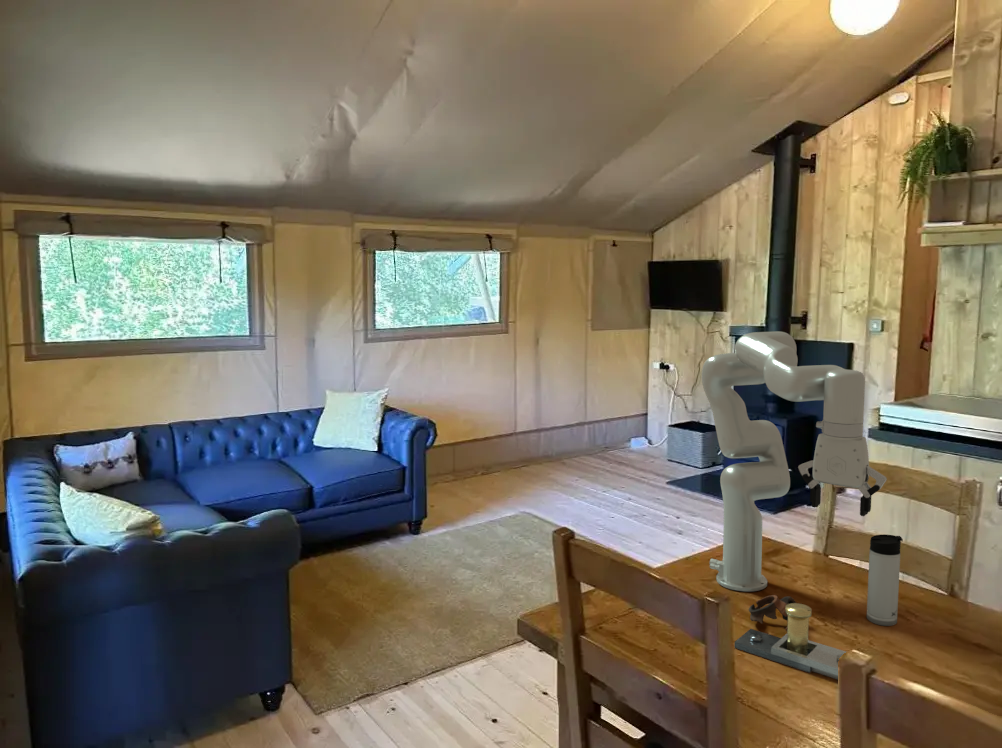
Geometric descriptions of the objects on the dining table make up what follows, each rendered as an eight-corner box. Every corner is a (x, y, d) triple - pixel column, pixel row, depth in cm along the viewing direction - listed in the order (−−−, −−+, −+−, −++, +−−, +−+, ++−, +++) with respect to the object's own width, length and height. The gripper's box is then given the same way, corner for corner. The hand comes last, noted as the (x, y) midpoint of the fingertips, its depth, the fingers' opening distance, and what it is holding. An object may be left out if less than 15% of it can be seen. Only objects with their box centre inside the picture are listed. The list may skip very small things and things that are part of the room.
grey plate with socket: (734, 648, 162) (734, 633, 162) (750, 634, 168) (750, 620, 168) (851, 686, 146) (852, 670, 146) (865, 670, 152) (865, 654, 152)
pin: (780, 659, 157) (781, 609, 156) (789, 650, 161) (791, 601, 159) (804, 667, 154) (806, 615, 152) (813, 657, 157) (815, 607, 156)
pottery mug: (786, 645, 164) (767, 610, 165) (755, 647, 172) (736, 614, 173) (815, 616, 171) (796, 583, 172) (784, 619, 179) (765, 588, 179)
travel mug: (902, 627, 170) (906, 541, 167) (870, 625, 171) (874, 540, 169) (893, 615, 176) (897, 532, 174) (863, 613, 177) (866, 531, 175)
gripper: (793, 427, 159) (791, 506, 161) (882, 438, 147) (878, 523, 149) (807, 422, 164) (804, 498, 166) (893, 431, 153) (889, 513, 155)
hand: (839, 510), depth 158 cm, fingers open, 9 cm apart
